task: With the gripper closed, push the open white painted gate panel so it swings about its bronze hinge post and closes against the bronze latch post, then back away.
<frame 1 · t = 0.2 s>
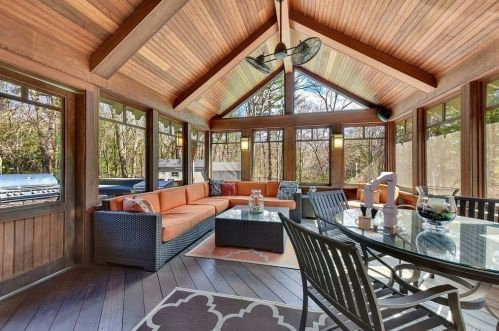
hand: (368, 217, 178), 10 cm above the table, fingers open, 7 cm apart
sill strip: (382, 232, 174), on the table
teacup with lid: (362, 228, 186), on the table
gate: (394, 229, 172), point 3 cm above the table, hinge at -70.0°
latch post: (375, 231, 177), on the table
hinge post: (391, 235, 167), on the table
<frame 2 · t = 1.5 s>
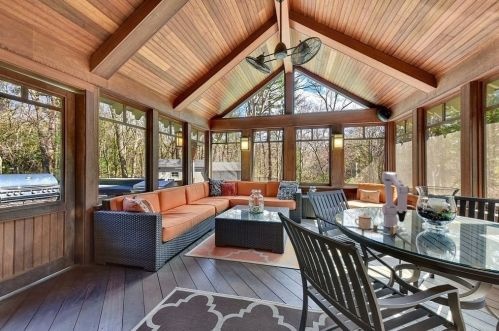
hand: (401, 221, 171), 9 cm above the table, fingers open, 4 cm apart
nothing on the table moved.
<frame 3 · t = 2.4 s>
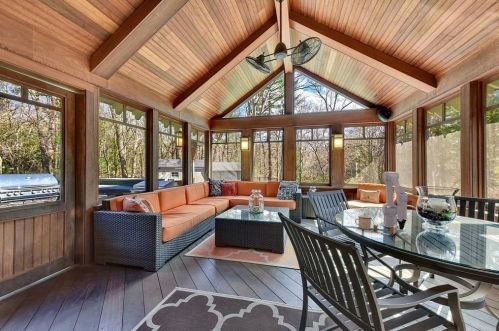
hand: (401, 229, 171), 4 cm above the table, fingers closed
nothing on the table moved.
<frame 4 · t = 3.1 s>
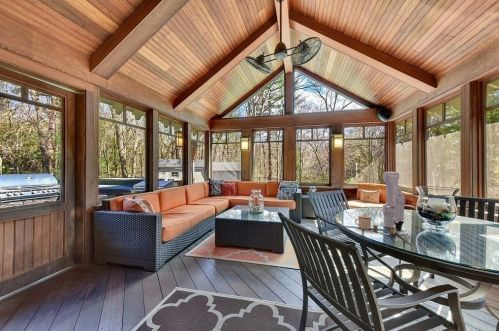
hand: (398, 231, 172), 2 cm above the table, fingers closed, pressing on gate
gate: (394, 229, 172), point 3 cm above the table, hinge at -69.2°, touching gripper
everything else where it was.
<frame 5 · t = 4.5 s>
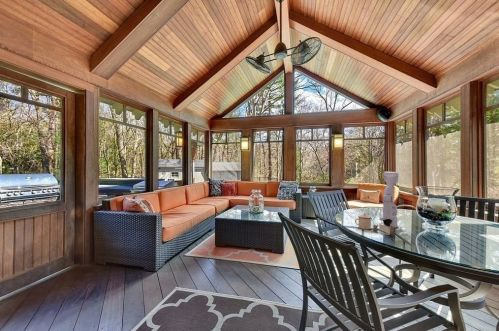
hand: (387, 229, 176), 2 cm above the table, fingers closed
gate: (385, 228, 174), point 3 cm above the table, hinge at -21.5°, touching gripper
everything else where it was.
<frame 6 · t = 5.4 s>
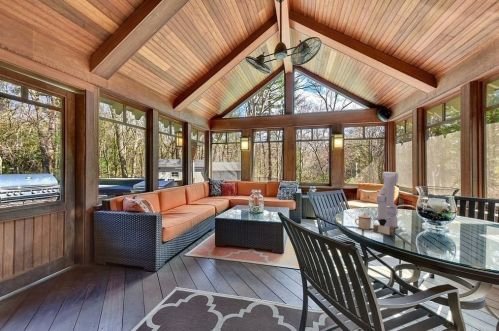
hand: (381, 229, 176), 2 cm above the table, fingers closed, pressing on gate
gate: (382, 228, 174), point 3 cm above the table, hinge at -0.2°, touching gripper
everything else where it was.
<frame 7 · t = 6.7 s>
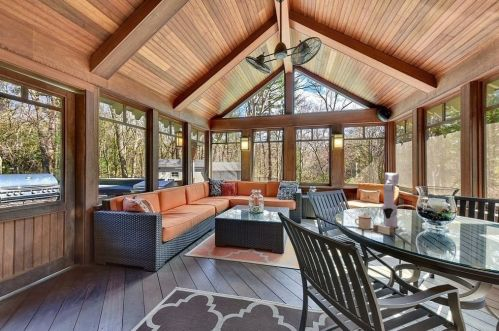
hand: (387, 218, 177), 10 cm above the table, fingers closed
gate: (382, 228, 174), point 3 cm above the table, hinge at 0.7°
everything else where it was.
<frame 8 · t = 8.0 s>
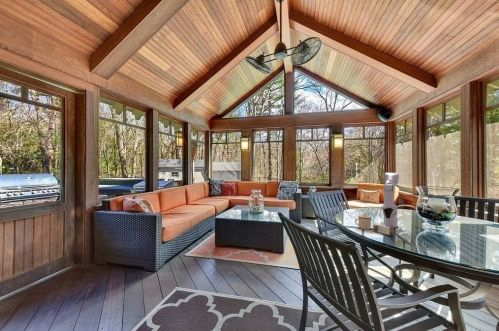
hand: (387, 218, 177), 10 cm above the table, fingers closed
nothing on the table moved.
at the end: gate at +1° (first picture: -70°); gate touching nothing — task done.
